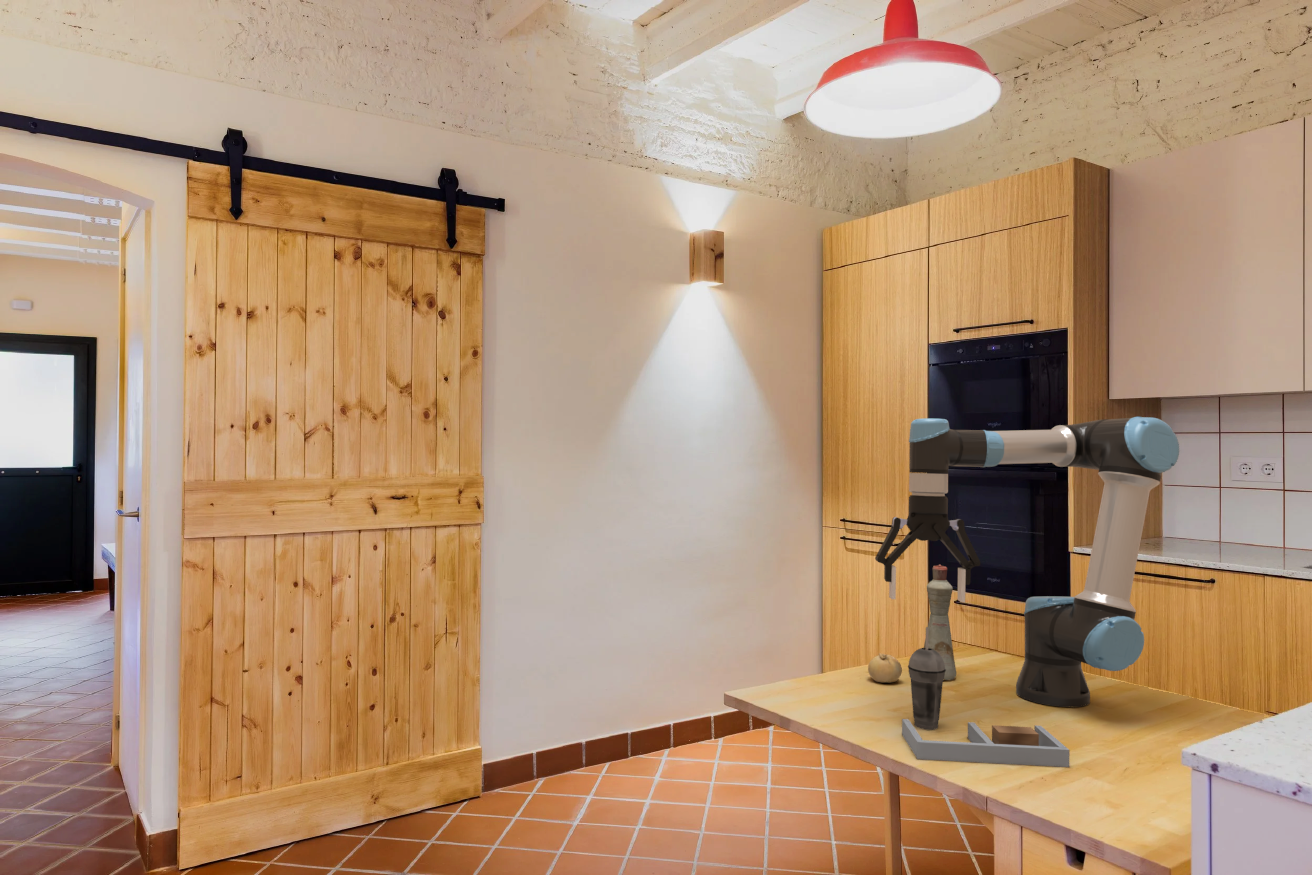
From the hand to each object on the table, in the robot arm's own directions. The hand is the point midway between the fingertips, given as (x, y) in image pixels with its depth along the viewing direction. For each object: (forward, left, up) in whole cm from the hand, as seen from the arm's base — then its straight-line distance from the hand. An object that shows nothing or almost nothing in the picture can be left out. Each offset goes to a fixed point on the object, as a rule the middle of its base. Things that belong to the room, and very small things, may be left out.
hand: (926, 599), depth 162 cm
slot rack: (-7, +12, -25) cm, 29 cm away
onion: (+2, -33, -26) cm, 42 cm away
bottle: (-12, -39, -26) cm, 48 cm away
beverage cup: (0, 0, -26) cm, 26 cm away
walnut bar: (-13, +12, -26) cm, 31 cm away
